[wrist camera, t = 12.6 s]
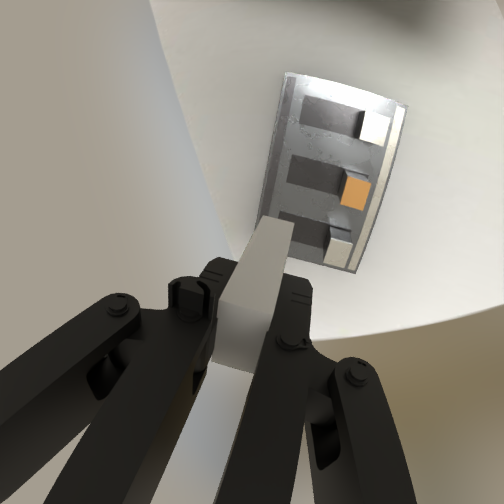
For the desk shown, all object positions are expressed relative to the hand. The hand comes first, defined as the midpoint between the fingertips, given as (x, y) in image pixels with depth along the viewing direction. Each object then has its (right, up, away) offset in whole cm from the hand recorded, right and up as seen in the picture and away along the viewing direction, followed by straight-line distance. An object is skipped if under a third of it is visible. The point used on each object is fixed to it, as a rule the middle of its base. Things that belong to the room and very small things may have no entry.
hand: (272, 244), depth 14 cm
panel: (+8, +9, +19) cm, 22 cm away
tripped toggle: (+10, +7, +16) cm, 21 cm away
